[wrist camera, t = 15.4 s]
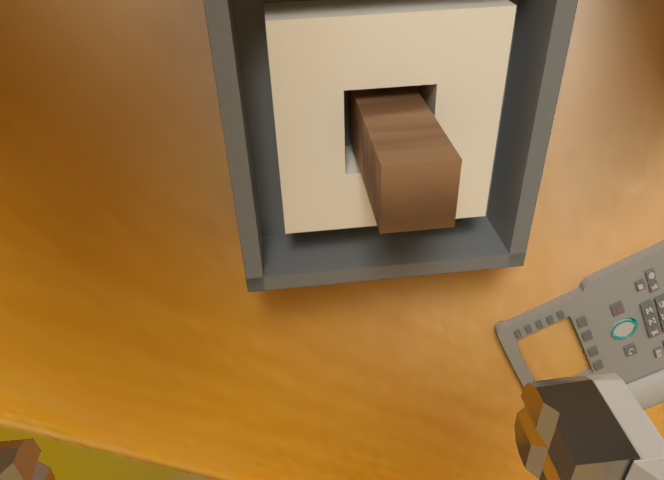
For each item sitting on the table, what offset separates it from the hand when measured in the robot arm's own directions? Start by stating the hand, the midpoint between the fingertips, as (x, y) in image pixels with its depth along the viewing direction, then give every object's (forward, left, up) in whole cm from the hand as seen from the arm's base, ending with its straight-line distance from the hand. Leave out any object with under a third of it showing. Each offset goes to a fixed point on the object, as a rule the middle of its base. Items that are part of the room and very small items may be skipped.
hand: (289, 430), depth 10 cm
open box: (+7, +7, -31) cm, 33 cm away
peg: (+7, +7, -30) cm, 32 cm away
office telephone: (+35, +32, -32) cm, 57 cm away
